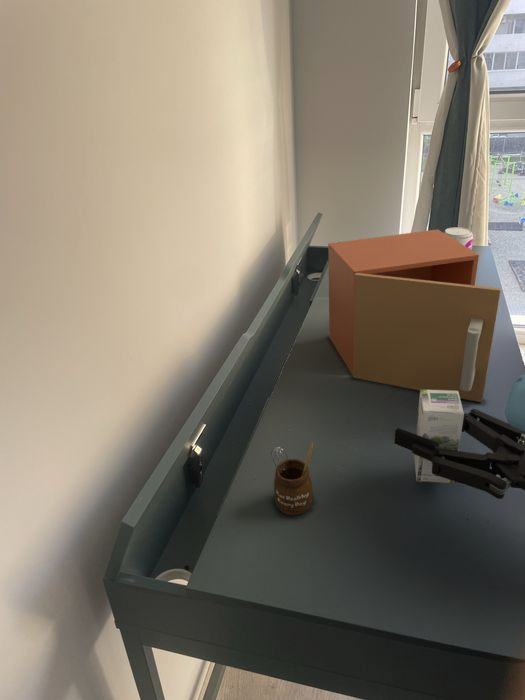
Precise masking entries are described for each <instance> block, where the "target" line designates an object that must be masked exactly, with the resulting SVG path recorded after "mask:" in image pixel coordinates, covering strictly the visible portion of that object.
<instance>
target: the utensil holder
mask: <svg viewBox="0 0 525 700" xmlns="http://www.w3.org/2000/svg"><path fill="white" fill-rule="evenodd" d="M313 446H314V441H311V442H310V446H309V449H308V451H307V454H306V460H305V461H303V460H301V459H298V458H288V454H287V452H286V450H285V449H284V447H282V448H281V447H280V446H277V447H275V450H273V451H271V453H270V454H271V456H273V455H274V456H275V458H274V457H271V458H272V459H271V460H272V462H273V464H274V466H275V467H276V468H275V471H274V472H275V474H274V475H275V476H274V481H273V490H274V501H275V505H276V507H277V509H278V510H279V512H282V513H283V514H285V515H288V516H298V515H303V514H305V513H307V511H309V510H310V508H311V507H312V504H313V480H312V477H311V475H310V468H309V466H308V464H309V463H310V459H311V456H312V452H313V448H314V447H313ZM276 450H277V451H279V453H280V456H281V459H282V460H281V462H280V461H279V459H278V458H279V457H278V455H277V454H276V453H275V451H276ZM281 450H282V451H283V452H284V454H285V457H286V459H285V458H283V454H282V452H281ZM275 459H276V460H277V462H278V463H277V464H275Z"/></svg>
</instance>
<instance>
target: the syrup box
mask: <svg viewBox="0 0 525 700" xmlns="http://www.w3.org/2000/svg"><path fill="white" fill-rule="evenodd" d="M417 411H418V412H417V420H416V421H417V422H416V433H415V435H418V436H421V437H423V438H426V439H428V440H431V441H433V442H436V443H438V444H439V448H441V449H448V450H455V451H460V450H459V449H460V443H461V438H462V432H461V431H462V425H463V418H464V409H463V405H462V401H461V398H460V396H459V392H458V391H448V390H419V399H418V410H417ZM442 458H443V459H445V458H444V457H442ZM413 461H414V470H415V480H416V482H417V483H428V484H429V483H430V484H443V485H453V484H454V483H455V481H452V480H449V479H446V478H443V477H440V476H437V475H434V474H433V473H432V462H431V461H429V460H427V459H424V458H422V457H420V456H417V455H415V454H413Z"/></svg>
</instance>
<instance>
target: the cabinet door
mask: <svg viewBox="0 0 525 700" xmlns="http://www.w3.org/2000/svg"><path fill="white" fill-rule="evenodd" d="M501 291H502V288H501V287H492V286H482V285H475V286H474V285H465V284H455V283H446V282H437V281H427V280H418V279H409V278H399V277H390V276H381V275H371V274H362V273H356V274H355V285H354V348H353V375H352V378H354V379H357V380H362V381H368V382H374V383H379V384H383V385H388V386H393V387H400V388H405V389H410V390H415V391H420V390H448V391H458V392H459V396H460V400H461V399H462V400H466V401H471V402H475V403H476V402H477V403H483V399H484V394H485V388H486V382H487V375H488V370H489V364H490V363H489V362H490V357H491V351H492V346H493V341H494V333H495V326H496V321H497V315H498V309H499V304H500V297H501Z"/></svg>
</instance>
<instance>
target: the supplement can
mask: <svg viewBox="0 0 525 700" xmlns="http://www.w3.org/2000/svg"><path fill="white" fill-rule="evenodd" d="M443 233H444V234H446V235H448V236H449V237H451V238H453V239H454V240H456V241H457V242H459V243H461V244H462V245H464V246H466V247H467V248H469V249H470V250H472V251H473V242H474V235H473V231H472V230H471V229H470V228H466V227H459V226H457V227H454V226H453V227H447V228H446V229H445V230H444V232H443Z"/></svg>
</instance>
